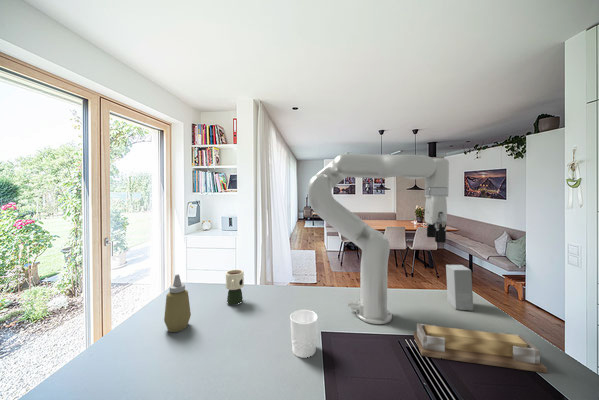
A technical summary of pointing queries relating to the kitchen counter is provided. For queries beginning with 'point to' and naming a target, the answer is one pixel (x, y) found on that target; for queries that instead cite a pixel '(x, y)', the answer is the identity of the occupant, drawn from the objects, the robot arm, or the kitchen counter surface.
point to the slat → (476, 340)
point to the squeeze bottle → (177, 307)
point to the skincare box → (459, 287)
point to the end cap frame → (520, 359)
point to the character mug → (234, 285)
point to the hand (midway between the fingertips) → (435, 239)
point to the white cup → (303, 332)
